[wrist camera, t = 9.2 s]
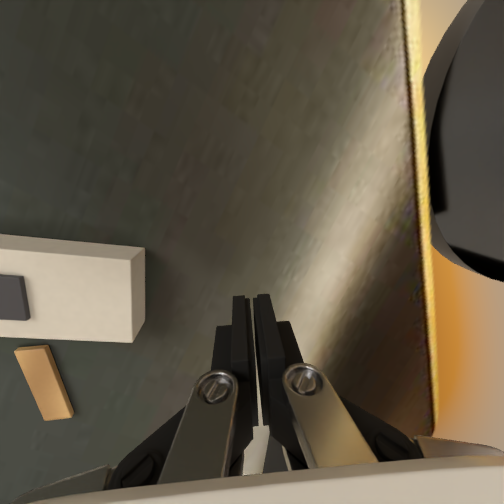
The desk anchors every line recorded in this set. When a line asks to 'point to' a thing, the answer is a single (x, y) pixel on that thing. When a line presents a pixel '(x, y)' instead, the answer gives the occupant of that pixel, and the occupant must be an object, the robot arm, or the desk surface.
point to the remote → (70, 289)
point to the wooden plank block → (44, 381)
